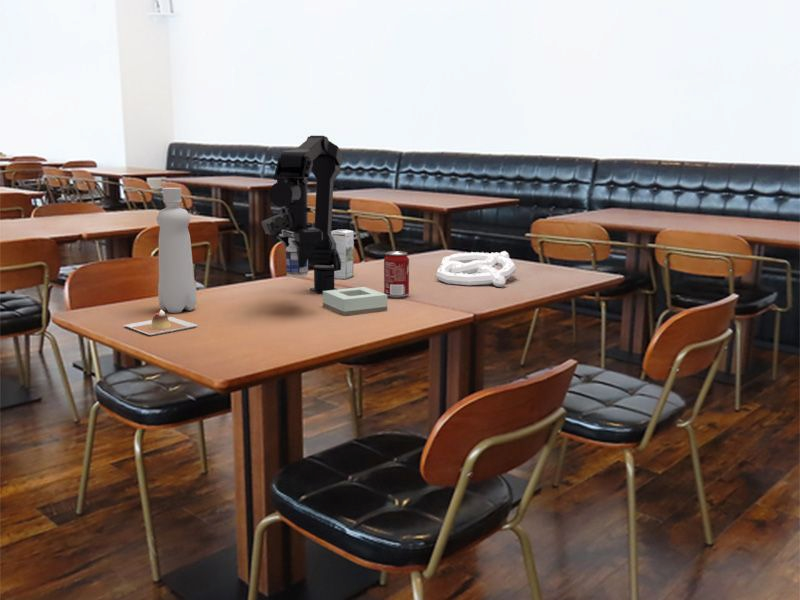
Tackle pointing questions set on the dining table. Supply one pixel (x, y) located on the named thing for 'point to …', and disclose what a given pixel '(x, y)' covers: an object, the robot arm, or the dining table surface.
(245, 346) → the dining table surface
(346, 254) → the syrup box
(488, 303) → the dining table surface
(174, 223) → the bottle
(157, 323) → the dessert
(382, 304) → the bore block
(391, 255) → the soda can
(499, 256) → the white coiled rope knot
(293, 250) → the pill bottle
